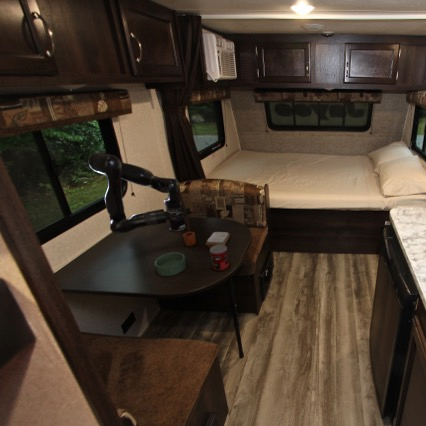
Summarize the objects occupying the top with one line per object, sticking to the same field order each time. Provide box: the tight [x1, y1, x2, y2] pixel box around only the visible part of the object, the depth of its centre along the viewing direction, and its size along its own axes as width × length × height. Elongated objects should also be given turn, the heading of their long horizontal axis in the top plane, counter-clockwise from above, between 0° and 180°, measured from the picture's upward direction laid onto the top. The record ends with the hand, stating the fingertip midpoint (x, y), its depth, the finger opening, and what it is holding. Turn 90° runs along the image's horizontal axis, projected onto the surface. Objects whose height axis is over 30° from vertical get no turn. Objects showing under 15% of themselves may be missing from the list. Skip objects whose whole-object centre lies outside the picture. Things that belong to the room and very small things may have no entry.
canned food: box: [209, 244, 230, 272], centre depth 147 cm, size 8×8×11 cm
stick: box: [181, 200, 191, 232], centre depth 162 cm, size 2×2×18 cm
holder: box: [183, 231, 197, 247], centre depth 168 cm, size 6×6×6 cm
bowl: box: [154, 251, 187, 277], centre depth 147 cm, size 14×14×5 cm
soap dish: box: [205, 231, 230, 249], centre depth 168 cm, size 12×10×5 cm
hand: (190, 210), depth 162 cm, fingers closed on stick, 2 cm apart
